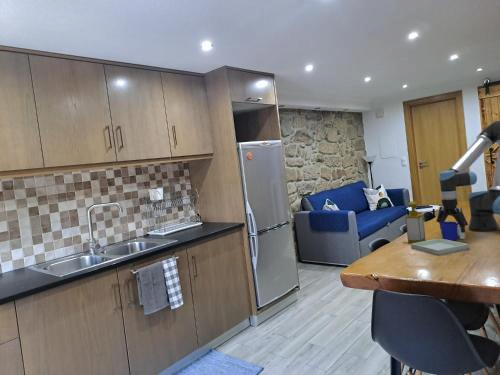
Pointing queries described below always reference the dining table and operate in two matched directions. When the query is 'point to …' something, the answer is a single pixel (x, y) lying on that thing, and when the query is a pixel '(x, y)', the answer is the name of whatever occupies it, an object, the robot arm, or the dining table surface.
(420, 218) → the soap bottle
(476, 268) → the dining table surface
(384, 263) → the dining table surface
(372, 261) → the dining table surface
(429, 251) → the tray
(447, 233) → the mug
